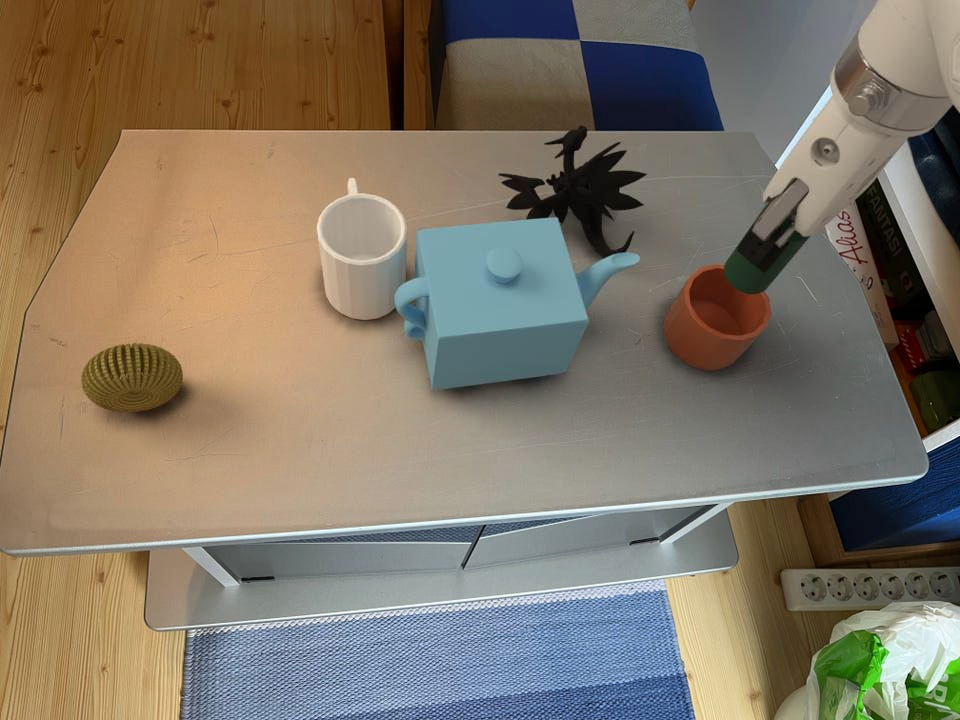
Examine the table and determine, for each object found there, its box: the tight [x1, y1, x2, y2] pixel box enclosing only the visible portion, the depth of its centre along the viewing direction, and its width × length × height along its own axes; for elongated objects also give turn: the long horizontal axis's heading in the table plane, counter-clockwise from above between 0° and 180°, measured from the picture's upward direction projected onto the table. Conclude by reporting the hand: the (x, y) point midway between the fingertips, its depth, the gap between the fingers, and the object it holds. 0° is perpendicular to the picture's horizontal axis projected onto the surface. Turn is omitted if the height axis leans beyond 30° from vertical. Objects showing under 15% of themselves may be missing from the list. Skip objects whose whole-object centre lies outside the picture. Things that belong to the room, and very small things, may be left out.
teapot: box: [394, 216, 641, 391], centre depth 69 cm, size 22×11×14 cm, turn 101°
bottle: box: [723, 203, 811, 294], centre depth 64 cm, size 4×4×10 cm
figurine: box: [497, 124, 648, 259], centre depth 78 cm, size 16×13×11 cm
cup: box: [662, 263, 772, 371], centre depth 75 cm, size 9×9×6 cm
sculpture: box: [80, 342, 184, 413], centre depth 64 cm, size 8×4×8 cm, turn 107°
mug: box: [316, 177, 408, 321], centre depth 73 cm, size 8×12×10 cm, turn 13°
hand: (770, 243), depth 64 cm, fingers closed on bottle, 4 cm apart
